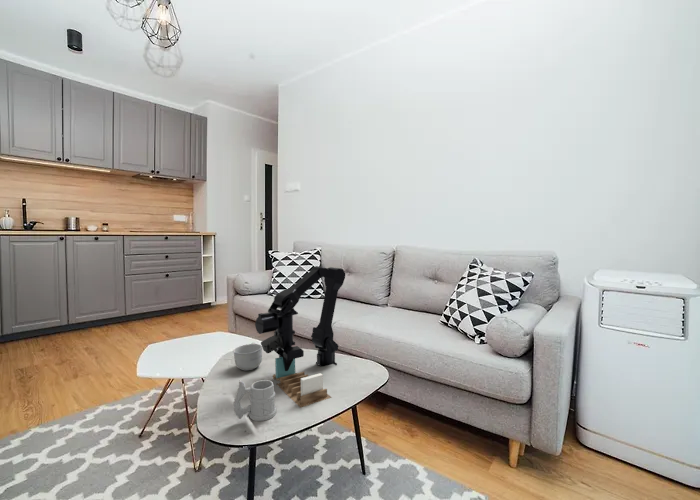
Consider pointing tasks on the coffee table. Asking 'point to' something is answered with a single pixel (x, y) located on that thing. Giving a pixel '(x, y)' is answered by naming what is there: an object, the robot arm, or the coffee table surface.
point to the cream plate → (311, 384)
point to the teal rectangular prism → (281, 370)
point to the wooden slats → (278, 378)
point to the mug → (256, 400)
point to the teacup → (248, 356)
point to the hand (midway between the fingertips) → (285, 370)
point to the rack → (293, 390)
